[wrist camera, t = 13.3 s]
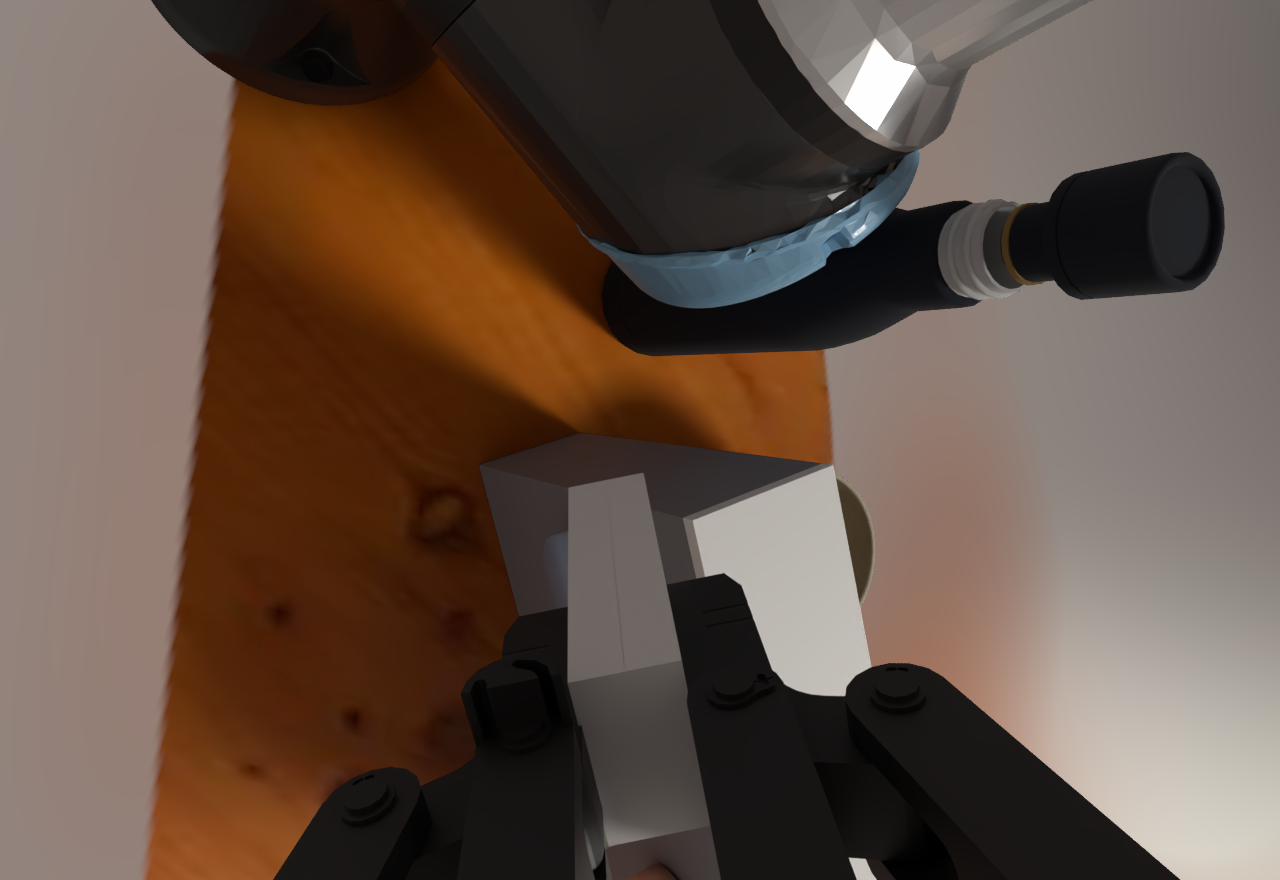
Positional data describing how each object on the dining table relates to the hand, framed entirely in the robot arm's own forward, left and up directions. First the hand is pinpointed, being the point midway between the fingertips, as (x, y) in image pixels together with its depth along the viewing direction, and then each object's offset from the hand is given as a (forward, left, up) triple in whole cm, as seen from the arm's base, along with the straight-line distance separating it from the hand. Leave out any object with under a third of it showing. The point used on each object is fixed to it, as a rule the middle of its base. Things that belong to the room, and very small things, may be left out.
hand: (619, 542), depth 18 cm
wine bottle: (-18, +7, -29) cm, 35 cm away
